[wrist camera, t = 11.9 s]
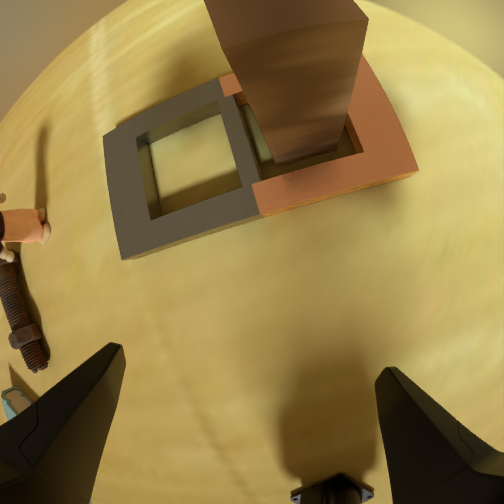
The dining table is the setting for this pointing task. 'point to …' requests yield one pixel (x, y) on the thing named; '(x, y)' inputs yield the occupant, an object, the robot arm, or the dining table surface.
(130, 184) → the grey-tan flat frame piece
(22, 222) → the grandmother figurine
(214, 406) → the dining table surface
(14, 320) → the bolt
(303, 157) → the walnut post
